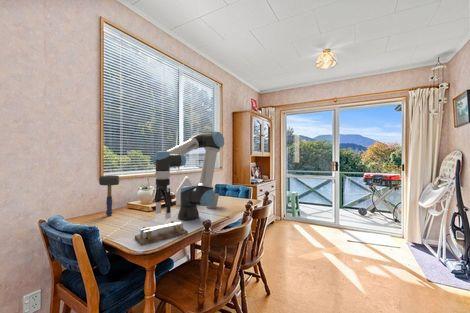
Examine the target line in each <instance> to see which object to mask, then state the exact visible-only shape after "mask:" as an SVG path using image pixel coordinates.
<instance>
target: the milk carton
mask: <svg viewBox="0 0 470 313" xmlns="http://www.w3.org/2000/svg"><path fill="white" fill-rule="evenodd" d="M185 186H195V184H193V183H192V180H191V179H190V177H189V176H187V175H185V176H184V178H183V179H182V181H181V183H180V184H179V186H177V188H176V190H175V191H176V192H175V206H177V207H178V206H181V203H180V192H181V188H182V187H185Z"/></svg>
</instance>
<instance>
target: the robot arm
mask: <svg viewBox="0 0 470 313" xmlns="http://www.w3.org/2000/svg"><path fill="white" fill-rule="evenodd" d="M224 145H225V137H224V135H223V134H222V133H221V132H220V131H208V132H207V131H206V132H205V131H203V132H200V133H197V134H196V135H193V136H191V137H189V139H188V140H186V141H184V142H181V143H180V144H179V145H175V146H174V147H173V148H170V149H168V150H158V151H156V152H155V154H154V155H152V156H153V157H152V159H151V160H152V163H153V165H154V166H155V173H154V175H155V178H156V179H155V193H154V202H155V214H161V213H162V198H163V202H164V205H165V206H164V212H165V215H164V218H165V220H169V219H171V218H172V217H171V216H172V214H171V207H173V206H174V204H173V200H172V195H171V194H172V193H171V188H170V187H168V186H170V185H171V182H170V180H171V179H170V177H171V171H170V169H171V168H176V167H179V168H180V167H183V166H185V165H186V163H187V157H186V156H185V155H186V154H188V153H190V152H192V151H193V150H198V149H200V148H201V149H202V148H203V149H204V151H205V153H204V159H203V163H202V168H201V172H200V174H201V175H200V179H199V183H198V184H196V185H194V186H185V187H182V188H181V192H180V203H181V205H179V206H180V207H179V210H178V212H177V219H178V220H180V221H193V220H194V221H195V220H197V219H199V218H200V216H199V215H200V213H199V210H198V209H199V208H198V206H200V207H206V206H210V205H211V204H212V203H213V202H214V200H215V192H216V191H215V192H214V191H213V190H214V189H213V188H214V186H213V185H212V184H213V179H214V174H215V168H216V162H217V156H218V153H219V152H221V148H223V147H224Z"/></svg>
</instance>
